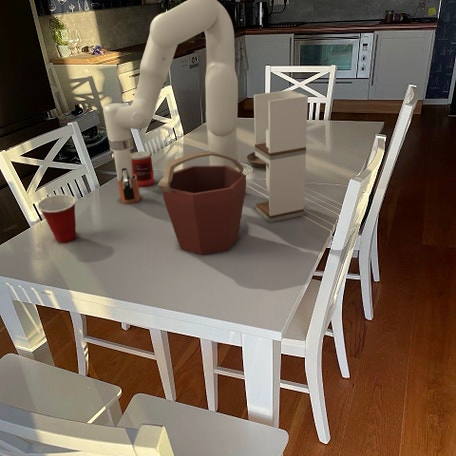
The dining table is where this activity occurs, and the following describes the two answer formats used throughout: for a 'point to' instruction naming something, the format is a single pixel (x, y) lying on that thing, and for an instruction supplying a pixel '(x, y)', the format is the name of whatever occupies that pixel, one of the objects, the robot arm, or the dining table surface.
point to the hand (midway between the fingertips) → (129, 194)
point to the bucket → (204, 203)
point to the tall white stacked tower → (282, 151)
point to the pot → (135, 190)
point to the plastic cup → (60, 216)
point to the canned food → (142, 168)
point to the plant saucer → (256, 161)
